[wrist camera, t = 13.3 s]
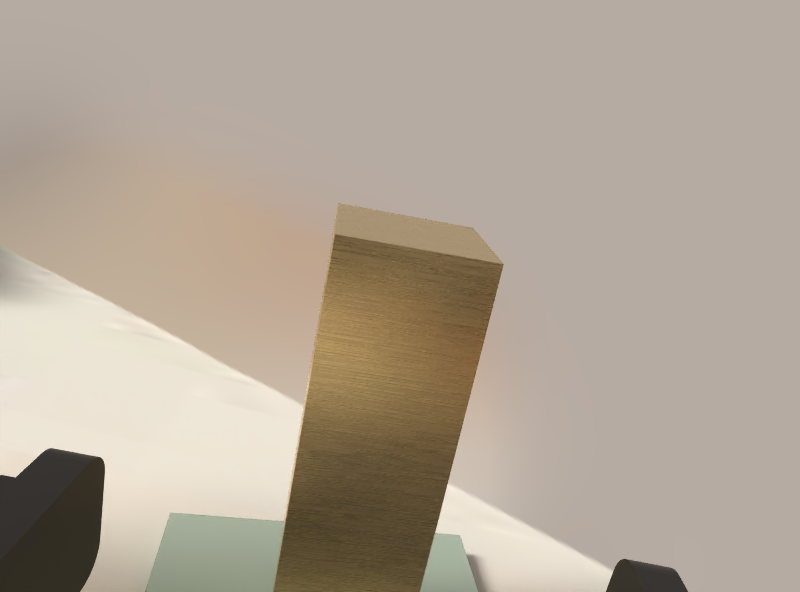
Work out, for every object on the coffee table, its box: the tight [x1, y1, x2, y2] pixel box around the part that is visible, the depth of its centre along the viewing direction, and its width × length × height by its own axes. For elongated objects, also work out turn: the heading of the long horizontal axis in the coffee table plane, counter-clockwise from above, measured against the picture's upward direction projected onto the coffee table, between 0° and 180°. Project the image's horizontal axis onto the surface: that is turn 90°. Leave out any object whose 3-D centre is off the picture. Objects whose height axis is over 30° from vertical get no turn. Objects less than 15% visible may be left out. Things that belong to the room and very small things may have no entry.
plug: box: [272, 203, 503, 592], centre depth 19 cm, size 4×4×14 cm
